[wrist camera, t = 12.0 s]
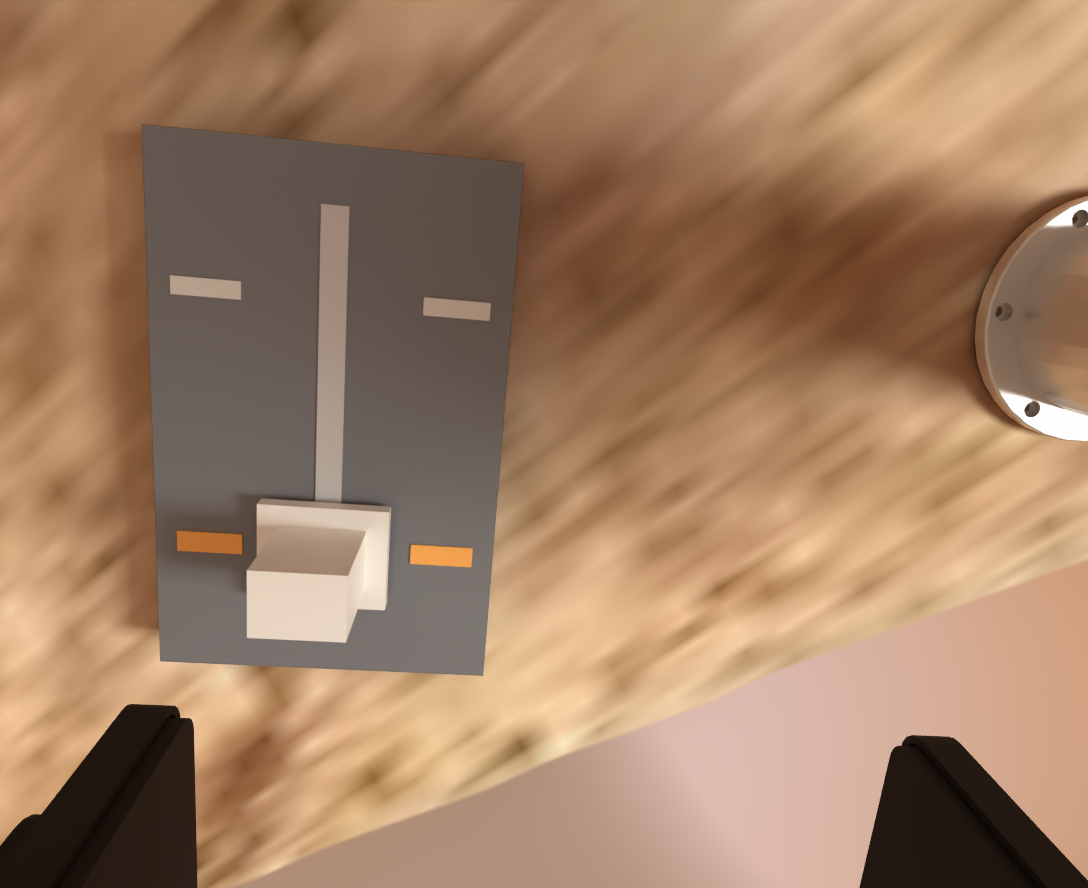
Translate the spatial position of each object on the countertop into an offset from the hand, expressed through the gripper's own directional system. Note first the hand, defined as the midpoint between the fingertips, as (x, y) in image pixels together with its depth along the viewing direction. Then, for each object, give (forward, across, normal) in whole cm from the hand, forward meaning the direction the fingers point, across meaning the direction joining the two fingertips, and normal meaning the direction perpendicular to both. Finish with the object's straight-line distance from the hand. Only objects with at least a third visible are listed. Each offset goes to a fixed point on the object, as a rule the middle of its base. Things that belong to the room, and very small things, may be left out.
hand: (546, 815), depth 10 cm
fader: (+27, +8, +8) cm, 29 cm away
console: (+30, +8, +2) cm, 31 cm away
